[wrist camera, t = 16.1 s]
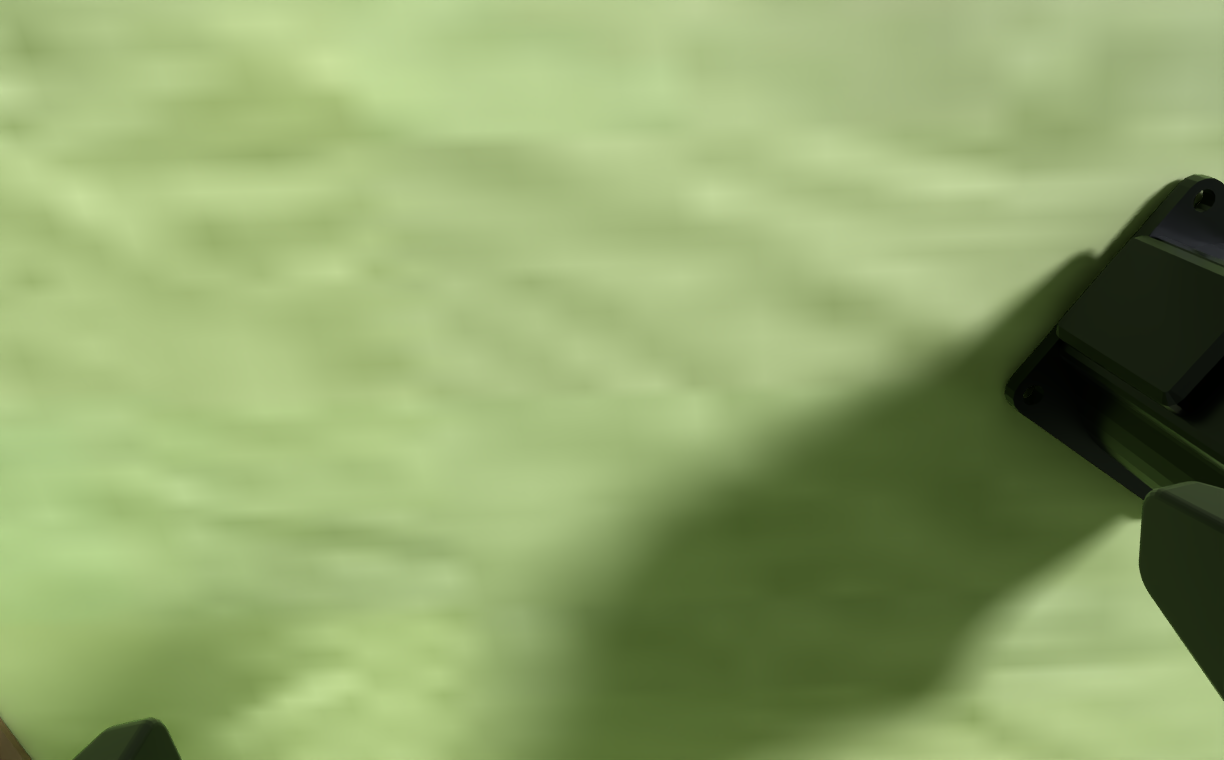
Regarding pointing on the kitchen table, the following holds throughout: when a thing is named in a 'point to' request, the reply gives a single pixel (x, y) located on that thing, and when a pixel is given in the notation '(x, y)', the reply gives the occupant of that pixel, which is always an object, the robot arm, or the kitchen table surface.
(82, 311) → the kitchen table surface
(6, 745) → the board
